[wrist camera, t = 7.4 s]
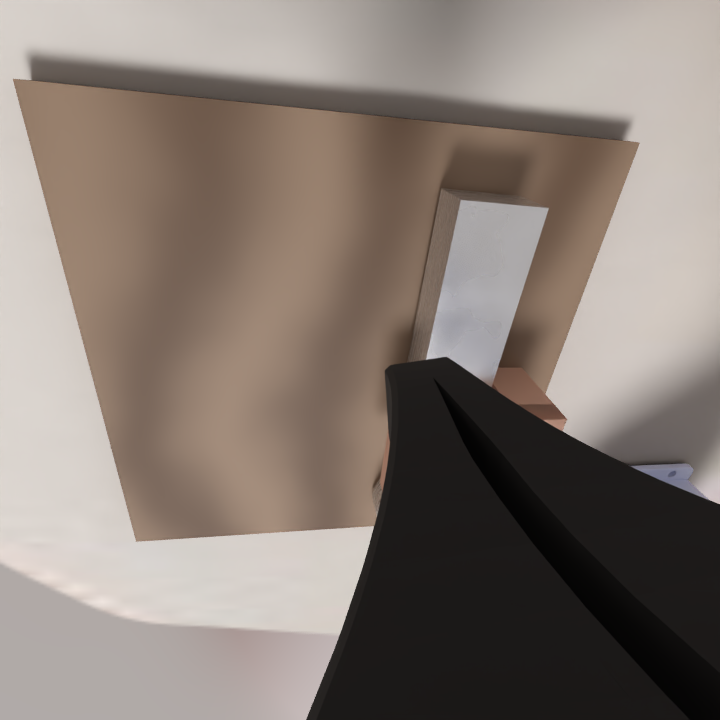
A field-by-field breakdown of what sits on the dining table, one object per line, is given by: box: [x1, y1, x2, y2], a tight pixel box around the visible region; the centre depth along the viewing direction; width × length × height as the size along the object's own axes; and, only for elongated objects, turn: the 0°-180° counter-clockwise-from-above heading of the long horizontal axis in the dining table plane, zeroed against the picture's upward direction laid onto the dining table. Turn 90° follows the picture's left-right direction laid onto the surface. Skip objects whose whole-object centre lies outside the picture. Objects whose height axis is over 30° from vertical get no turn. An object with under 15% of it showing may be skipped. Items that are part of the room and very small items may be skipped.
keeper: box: [380, 368, 567, 491], centre depth 20 cm, size 9×7×4 cm
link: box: [372, 188, 549, 517], centre depth 19 cm, size 17×4×2 cm, turn 174°
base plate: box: [13, 79, 639, 542], centre depth 19 cm, size 20×20×1 cm
